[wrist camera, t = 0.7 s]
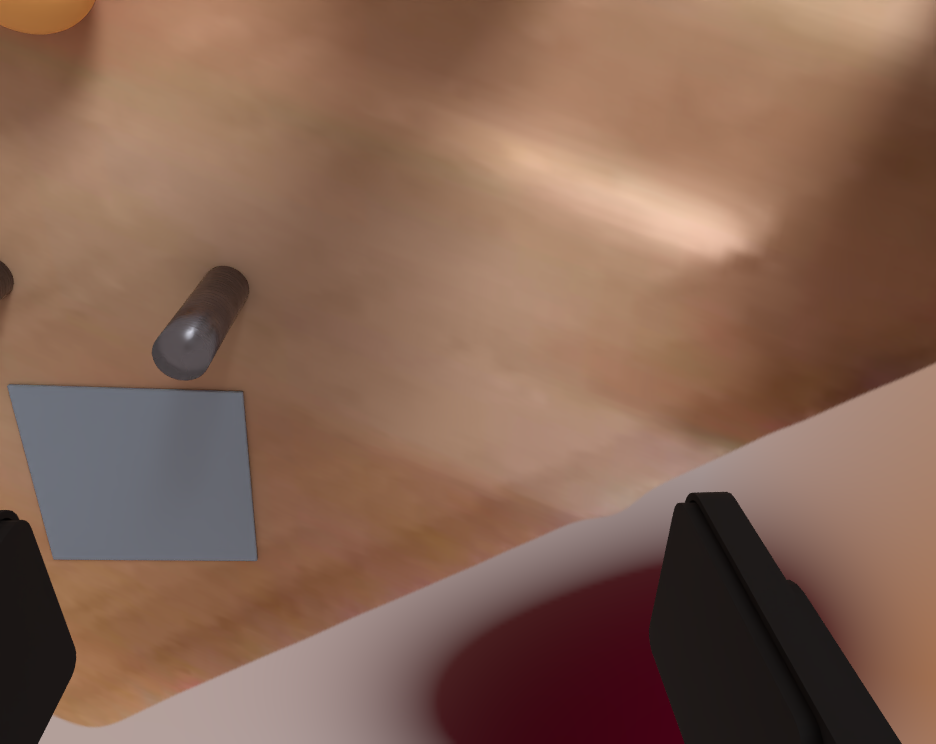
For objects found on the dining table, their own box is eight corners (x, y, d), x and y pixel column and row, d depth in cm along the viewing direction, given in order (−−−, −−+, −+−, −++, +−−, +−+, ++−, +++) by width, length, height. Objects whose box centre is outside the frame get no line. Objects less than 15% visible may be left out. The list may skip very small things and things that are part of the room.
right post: (200, 265, 40) (148, 330, 32) (247, 267, 40) (206, 332, 32) (205, 307, 41) (155, 379, 33) (250, 308, 41) (212, 381, 33)
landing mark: (8, 384, 43) (7, 386, 42) (243, 391, 44) (242, 393, 44) (54, 557, 49) (53, 559, 49) (257, 558, 50) (256, 560, 50)
